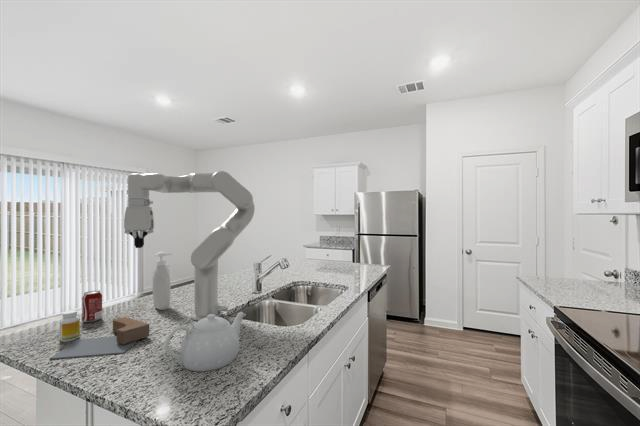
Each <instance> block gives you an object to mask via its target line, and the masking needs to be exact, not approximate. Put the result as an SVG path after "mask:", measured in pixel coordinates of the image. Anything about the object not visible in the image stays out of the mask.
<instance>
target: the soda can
mask: <svg viewBox="0 0 640 426" xmlns="http://www.w3.org/2000/svg"><path fill="white" fill-rule="evenodd" d="M102 318H103V294H102V293H101V291H100V289H99V290H89V291H85V292H84V293H83V296H82V297H81V320H82V321H81V322H85V323H93V322H92V321H94V322H97V320H98V321H99V320H100V319H102Z"/></svg>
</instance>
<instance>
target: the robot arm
mask: <svg viewBox="0 0 640 426" xmlns="http://www.w3.org/2000/svg"><path fill="white" fill-rule="evenodd" d="M151 191H154V192H158V193H162V194H163V193H165V194H167V193H169V194H170V193H172V194H176V193H178V194H180V193H181V194H182V193H189V194H191V193H192V194H193V193H195V194H196V193H197V194H198V193H220V194H221V195H222V196H223V197H224V198H225V199H227V200H228V201H229V202H230V203H231V204H232V205H234V206H235V210H234V211H233V212H232V213H231V214H230V216H229V217H228V218H227V219H226V220H224V222H222V224H221V225H220V226H218V227H216V228H215V229H214V230H212V232H210V233H209V234H208V235H207V236H206V237H205V238H204V239H203V240H202V242H200V244H198V246H197V247H196V248H194V249H193V250H192V252H191V255H190V262H191V264H192V265H193V267H194V275H193V276H194V282H193V283H194V284H193V285H194V312H192V313H191V315H190V319H191V320H193V321H196V322H198V321H199V320H201V319H204V318H207V316H208V315H209V314H214V315H215V317H221V316H222V312H228V311H229V306H227V305H221V304H220V302H219V299H218V297H219V291H218V290H219V288H218V287H219V286H218V285H219V284H218V282H219V280H218V279H219V275H218V270H219V269H218V268H219V267H218V266H219V259H220V258H221V256H223V255H224V254H225V253H226V251H228V249H230V248H231V247H232V245H233V244H234V242H235V240H236V239H237V238H238V236H240V235H241V233H243V230H245V229H246V228H247V227H248V225H249V224H250V223H251V221H252V220H253V218H254V215H255V214H254V213H255V204H254V197H253V195H252V193H251V192H250V191H249V190H248V189H247V188H246V187H244V185H242V184H241V183H240V182H239V181H238V180H236V179H235V178H234V177H233V176H232V175H231V174H230V173H228V172H227V171H225V170H217V171H216V172H193V173H189V174H187V175H180V176H179V175H175V176H174V175H169V176H167V175H165V174H162V173H157V172H155V173H152V172H151V173H130V174H128V175H127V206H126V207H125V211H124V217H123V229H124V232H123V233H124V234H127V235H130V236H132V238H133V239H134V241H133V242H134V247H135V249H140V248H144V246H145V238H146V236H148V235H149V234H153V233H154V228H155V219H154V218H155V217H154V212H153V207H152V206H150V205H153V203H154V201H153V200H150V192H151Z"/></svg>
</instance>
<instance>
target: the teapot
mask: <svg viewBox="0 0 640 426" xmlns="http://www.w3.org/2000/svg"><path fill="white" fill-rule="evenodd" d="M245 316H247V314H246V313H244V312H243V311H240V312H238V313H237V315H236V317H235V318H234V320H233V322H232V324H231V323H230V321H228V320H227V319H225V318H224V317H221V316H219V317H215V315H214V314H209V315H208V316H207V318H204V319H201V320H199V321H196V322H195V323H193V324H192V325H191V327H190V328H188V327H187V326H185V325H178V326H176V327H174V328H172V329H171V330H170V332H168V334H167V336H166V338H165V340H164V350H165V352H166V353H167V354H168V356H170V357H172V358H175V359H177V362H178V364H179V365H182V366H183V367H184V368H185V369H187V370H189V371H191V372H192V371H193V372H210V371H215V370H218V369H222V368H223V367H227V365H230V364H231V363H232V362H233V361H234V360H235V359H236V357H237V356H238V354H239V349H240V333H241V326H242V320H243V318H244V317H245ZM180 330H184V331H185V333H186V334H185V335H184V337H183V339H182V341H181V343H180V347H179V354H177V353H176V352H173V351H172V350H171V349H170V348H169V344H170V341H171V338H172V337H173V335H174V334H175V333H176V332H177V331H178V332H179V331H180Z"/></svg>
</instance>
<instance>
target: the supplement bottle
mask: <svg viewBox="0 0 640 426" xmlns="http://www.w3.org/2000/svg"><path fill="white" fill-rule="evenodd" d="M80 322H81V321H80V317H79V316H78V311H77V310H73V309H72V310H67V311H65V312H62V318H61V319H60V321H59V340H60V342H65V343H66V342H72V341H76V340H78V339H80V336H81V335H80V334H81V331H80V330H81V329H80V327H81V324H80Z"/></svg>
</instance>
